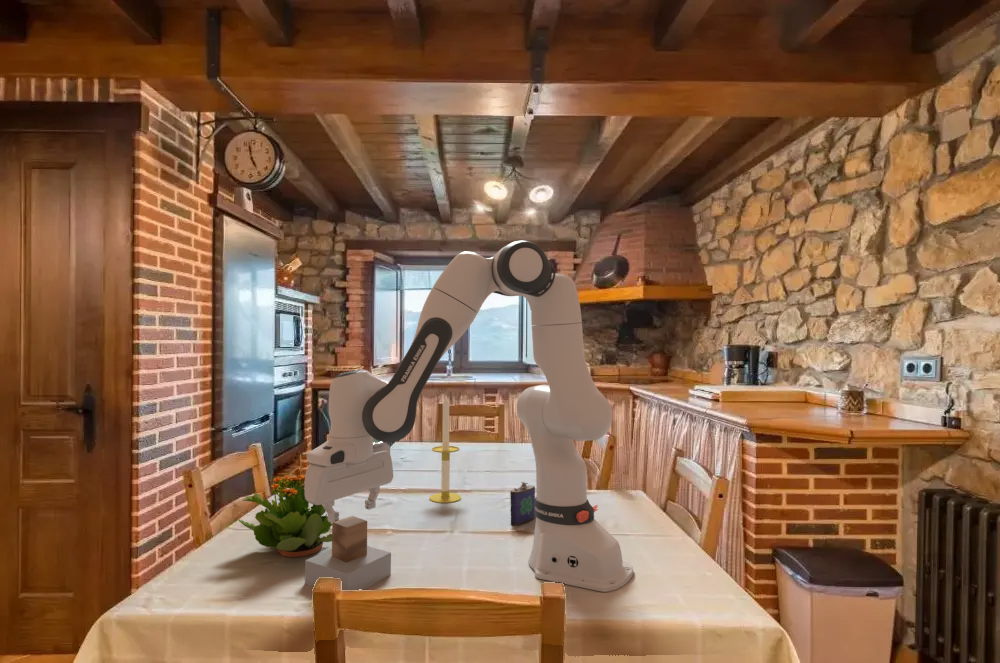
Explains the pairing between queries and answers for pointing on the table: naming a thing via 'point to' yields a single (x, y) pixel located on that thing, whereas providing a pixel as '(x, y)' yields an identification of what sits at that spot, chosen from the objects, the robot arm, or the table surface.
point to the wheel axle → (445, 461)
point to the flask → (522, 504)
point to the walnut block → (349, 539)
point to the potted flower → (290, 520)
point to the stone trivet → (350, 569)
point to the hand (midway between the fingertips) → (352, 514)
